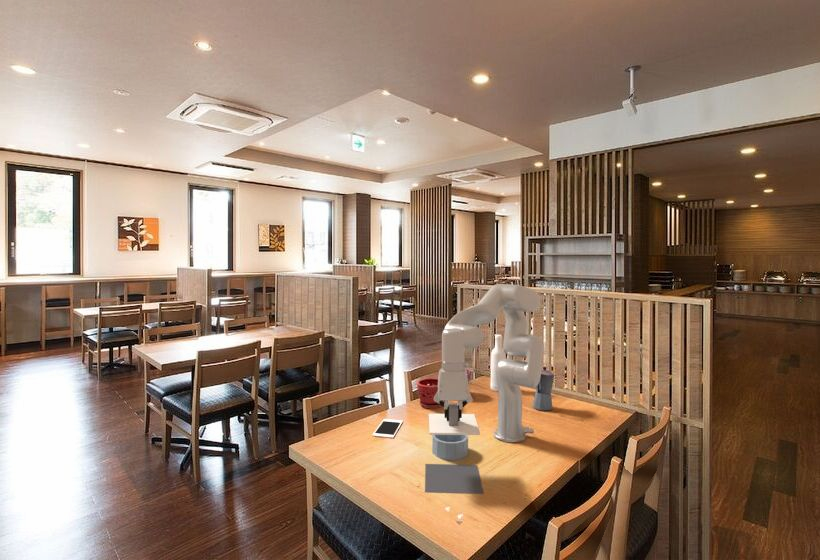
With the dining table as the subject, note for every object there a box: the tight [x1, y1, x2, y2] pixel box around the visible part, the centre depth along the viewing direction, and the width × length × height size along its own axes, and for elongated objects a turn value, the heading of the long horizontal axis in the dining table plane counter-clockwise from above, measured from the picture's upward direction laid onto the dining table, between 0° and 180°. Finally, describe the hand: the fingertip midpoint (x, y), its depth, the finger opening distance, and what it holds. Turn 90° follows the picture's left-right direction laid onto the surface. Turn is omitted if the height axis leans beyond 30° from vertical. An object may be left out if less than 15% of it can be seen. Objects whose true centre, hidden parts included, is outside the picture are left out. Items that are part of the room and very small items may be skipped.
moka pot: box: [532, 366, 555, 411], centre depth 207 cm, size 10×15×20 cm, turn 148°
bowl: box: [431, 435, 469, 461], centre depth 160 cm, size 13×13×7 cm
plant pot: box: [416, 377, 442, 410], centre depth 211 cm, size 13×13×12 cm
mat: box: [424, 463, 484, 495], centre depth 141 cm, size 18×18×1 cm
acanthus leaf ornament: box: [444, 506, 464, 526], centre depth 123 cm, size 8×7×2 cm
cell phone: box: [372, 418, 404, 439], centre depth 183 cm, size 9×18×1 cm, turn 168°
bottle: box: [489, 334, 507, 392], centre depth 237 cm, size 8×8×30 cm
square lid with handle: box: [428, 402, 481, 436], centre depth 145 cm, size 16×16×7 cm
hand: (453, 419), depth 145 cm, fingers closed on square lid with handle, 3 cm apart
